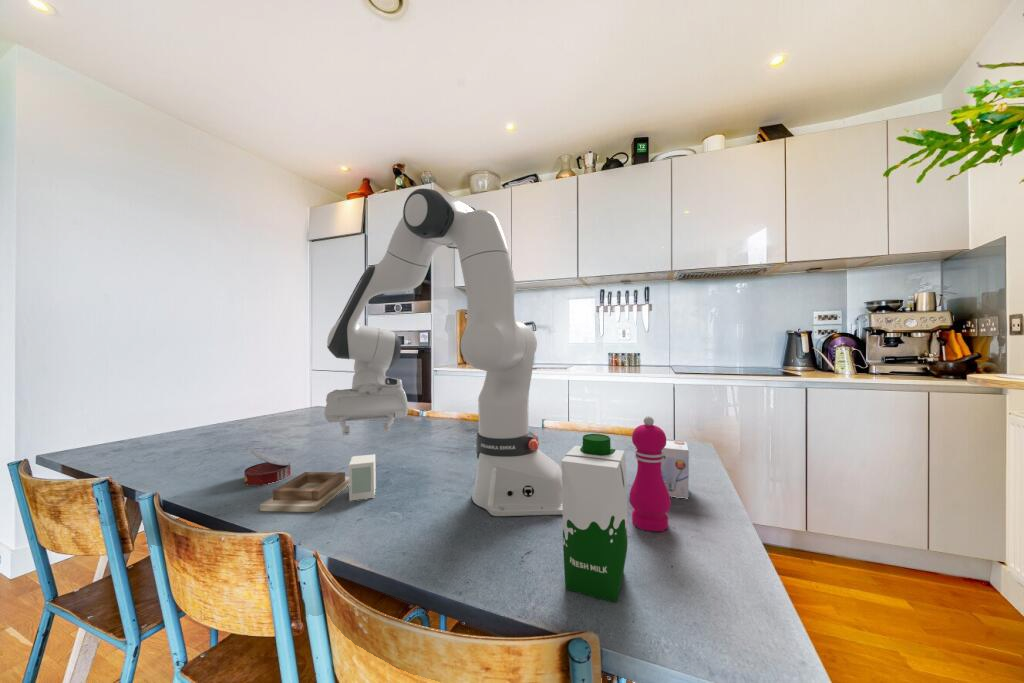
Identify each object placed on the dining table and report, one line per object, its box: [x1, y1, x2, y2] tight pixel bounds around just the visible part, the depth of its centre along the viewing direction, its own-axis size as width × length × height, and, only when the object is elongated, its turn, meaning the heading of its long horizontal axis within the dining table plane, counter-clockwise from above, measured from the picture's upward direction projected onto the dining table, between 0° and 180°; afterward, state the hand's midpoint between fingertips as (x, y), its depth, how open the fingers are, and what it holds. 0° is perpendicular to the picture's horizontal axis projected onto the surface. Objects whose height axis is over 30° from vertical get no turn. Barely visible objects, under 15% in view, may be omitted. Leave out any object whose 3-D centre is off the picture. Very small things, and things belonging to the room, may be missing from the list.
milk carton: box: [561, 433, 628, 604], centre depth 53 cm, size 9×9×20 cm
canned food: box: [243, 446, 291, 486], centre depth 94 cm, size 11×10×10 cm
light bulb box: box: [661, 440, 690, 498], centre depth 83 cm, size 11×7×11 cm, turn 68°
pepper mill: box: [628, 416, 672, 532], centre depth 69 cm, size 7×7×20 cm
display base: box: [259, 471, 349, 513], centre depth 83 cm, size 12×16×3 cm
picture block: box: [348, 453, 377, 501], centre depth 84 cm, size 5×6×8 cm
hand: (366, 432), depth 92 cm, fingers open, 8 cm apart
